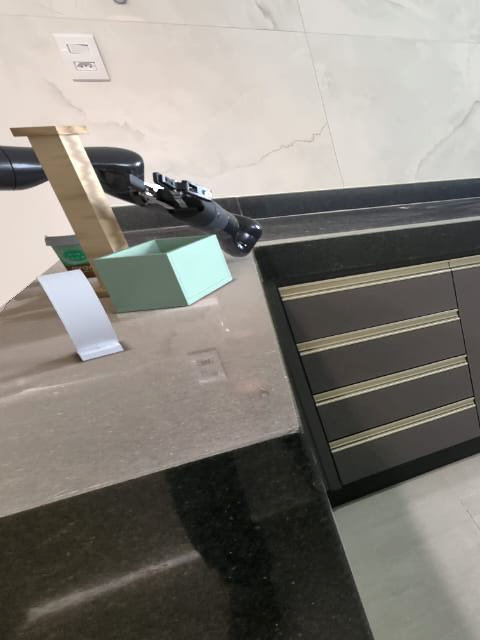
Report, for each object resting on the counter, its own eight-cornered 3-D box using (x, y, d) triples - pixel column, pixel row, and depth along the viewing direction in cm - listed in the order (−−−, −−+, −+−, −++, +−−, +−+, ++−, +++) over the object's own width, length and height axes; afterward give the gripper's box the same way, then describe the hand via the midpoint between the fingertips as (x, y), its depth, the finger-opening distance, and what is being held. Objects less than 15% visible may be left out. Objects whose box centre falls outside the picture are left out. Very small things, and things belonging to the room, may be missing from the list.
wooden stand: (113, 286, 116) (37, 127, 102) (160, 282, 117) (91, 125, 104) (84, 298, 108) (-3, 128, 94) (135, 293, 109) (57, 125, 96)
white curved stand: (117, 343, 83) (80, 269, 78) (125, 352, 80) (87, 274, 75) (77, 353, 80) (35, 276, 75) (83, 362, 76) (41, 282, 71)
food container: (55, 283, 121) (32, 239, 117) (64, 277, 126) (42, 235, 121) (125, 273, 127) (105, 231, 122) (131, 268, 131) (112, 227, 127)
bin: (188, 305, 100) (166, 253, 96) (117, 312, 98) (91, 259, 94) (232, 279, 117) (215, 234, 112) (173, 285, 114) (153, 239, 110)
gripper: (160, 198, 116) (96, 161, 100) (232, 193, 119) (182, 156, 102) (163, 230, 116) (99, 199, 99) (236, 225, 119) (185, 193, 102)
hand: (141, 177), depth 101 cm, fingers open, 4 cm apart
